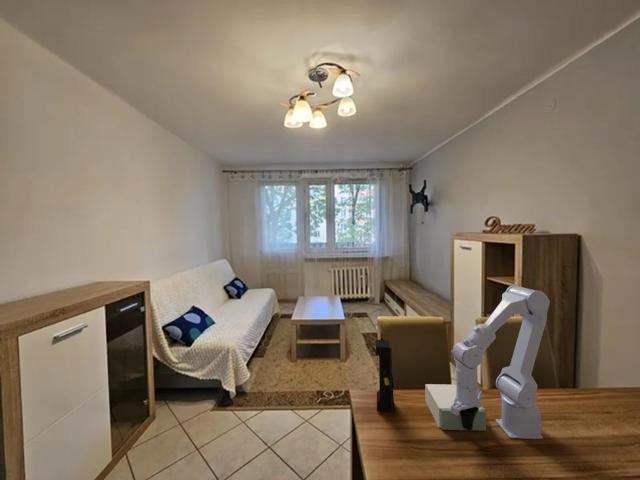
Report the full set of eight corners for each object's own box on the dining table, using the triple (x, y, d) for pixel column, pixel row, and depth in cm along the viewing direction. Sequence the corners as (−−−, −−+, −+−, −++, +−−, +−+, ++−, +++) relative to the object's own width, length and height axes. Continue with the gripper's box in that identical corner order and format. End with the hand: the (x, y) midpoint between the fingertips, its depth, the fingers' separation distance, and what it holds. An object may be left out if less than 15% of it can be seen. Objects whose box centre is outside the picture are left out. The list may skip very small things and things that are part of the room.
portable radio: (395, 415, 95) (394, 341, 94) (376, 413, 96) (375, 340, 95) (393, 401, 102) (392, 333, 102) (376, 399, 104) (375, 332, 103)
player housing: (465, 401, 101) (464, 384, 101) (485, 428, 87) (485, 409, 87) (425, 400, 102) (425, 384, 102) (439, 427, 88) (439, 408, 88)
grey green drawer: (466, 404, 99) (466, 387, 99) (486, 430, 86) (486, 411, 86) (428, 403, 100) (428, 386, 100) (441, 429, 87) (441, 410, 87)
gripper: (468, 399, 77) (468, 447, 77) (492, 381, 85) (492, 425, 86) (443, 387, 83) (444, 433, 83) (468, 372, 91) (469, 413, 91)
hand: (467, 428), depth 85 cm, fingers closed, pressing on grey green drawer
